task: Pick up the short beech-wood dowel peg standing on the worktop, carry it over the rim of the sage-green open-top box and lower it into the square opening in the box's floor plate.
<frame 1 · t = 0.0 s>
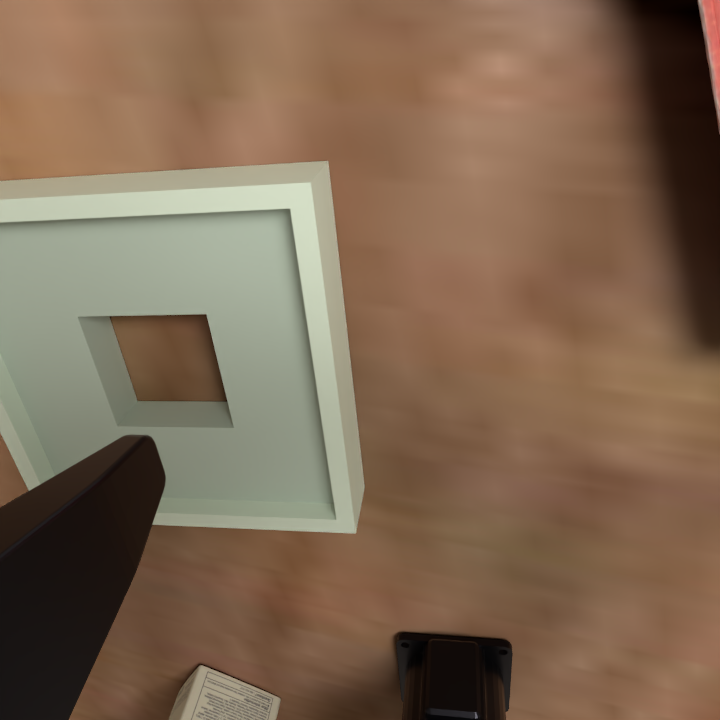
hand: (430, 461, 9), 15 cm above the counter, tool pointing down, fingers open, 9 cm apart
skincare box: (233, 691, 41), on the counter
box: (177, 350, 27), on the counter
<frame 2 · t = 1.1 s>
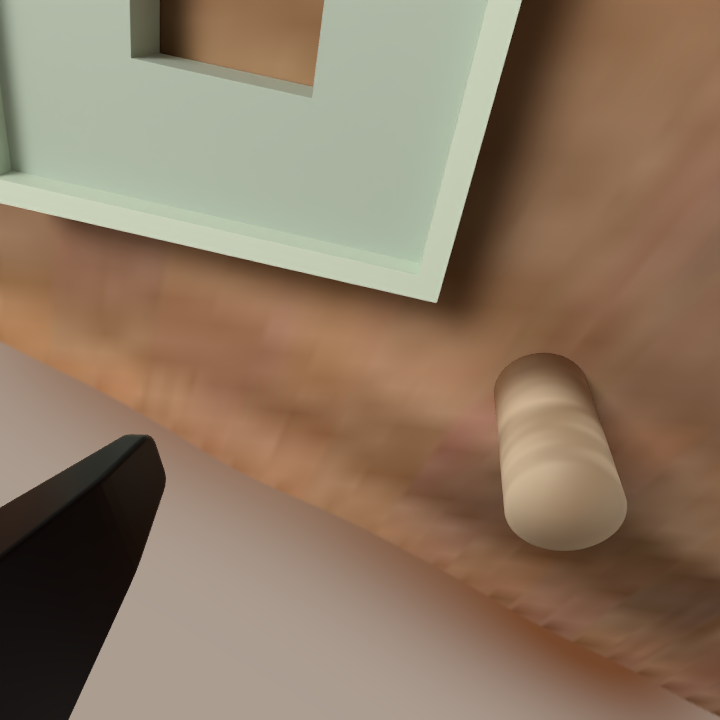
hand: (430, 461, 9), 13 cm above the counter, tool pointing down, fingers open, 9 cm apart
peg: (540, 392, 24), on the counter
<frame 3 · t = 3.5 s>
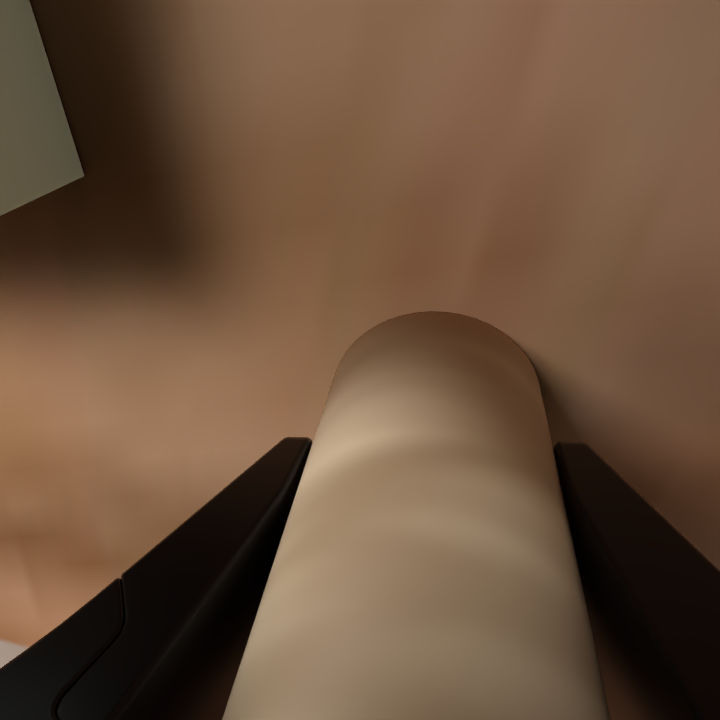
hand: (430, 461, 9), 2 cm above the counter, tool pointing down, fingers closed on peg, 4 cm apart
peg: (433, 404, 10), on the counter, touching gripper
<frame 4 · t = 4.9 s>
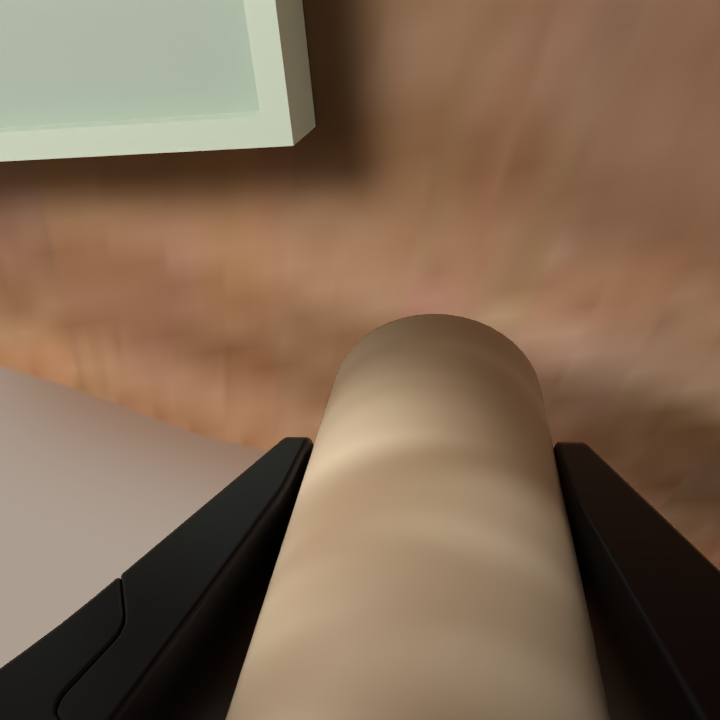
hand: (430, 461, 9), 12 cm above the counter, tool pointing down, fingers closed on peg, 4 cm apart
peg: (434, 406, 10), point 11 cm above the counter, touching gripper
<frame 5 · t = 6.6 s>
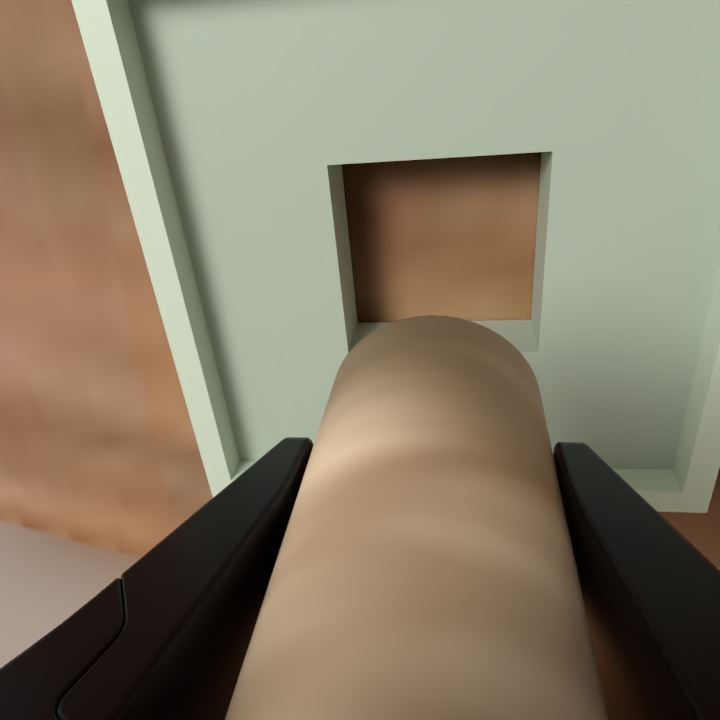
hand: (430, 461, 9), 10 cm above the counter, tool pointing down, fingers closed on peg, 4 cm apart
peg: (433, 407, 10), point 9 cm above the counter, touching gripper
box: (440, 238, 18), on the counter
when the fingers open (3 cm above the counter, at t = 8.4 s): peg drops 1 cm, resting in box.
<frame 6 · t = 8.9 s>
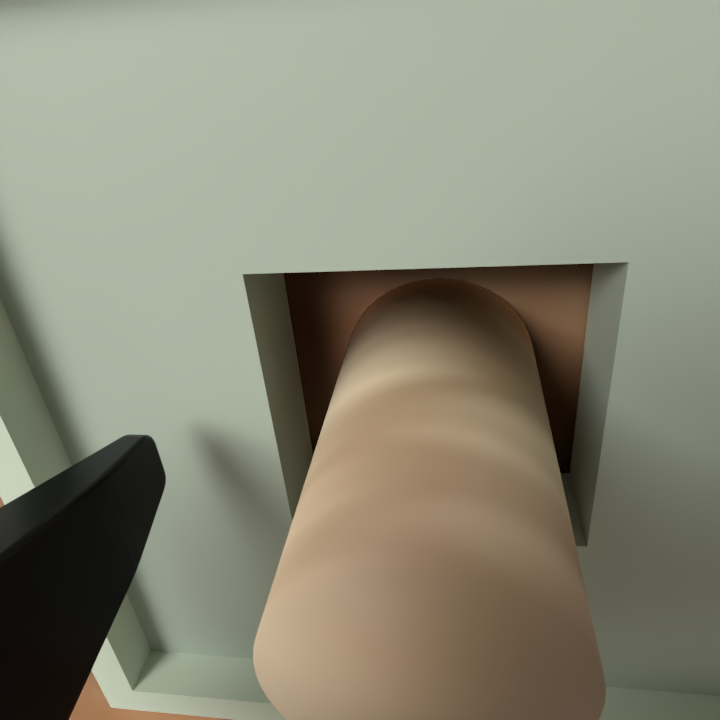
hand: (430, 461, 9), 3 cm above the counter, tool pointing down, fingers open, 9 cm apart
peg: (438, 363, 12), resting in box
box: (434, 361, 12), on the counter
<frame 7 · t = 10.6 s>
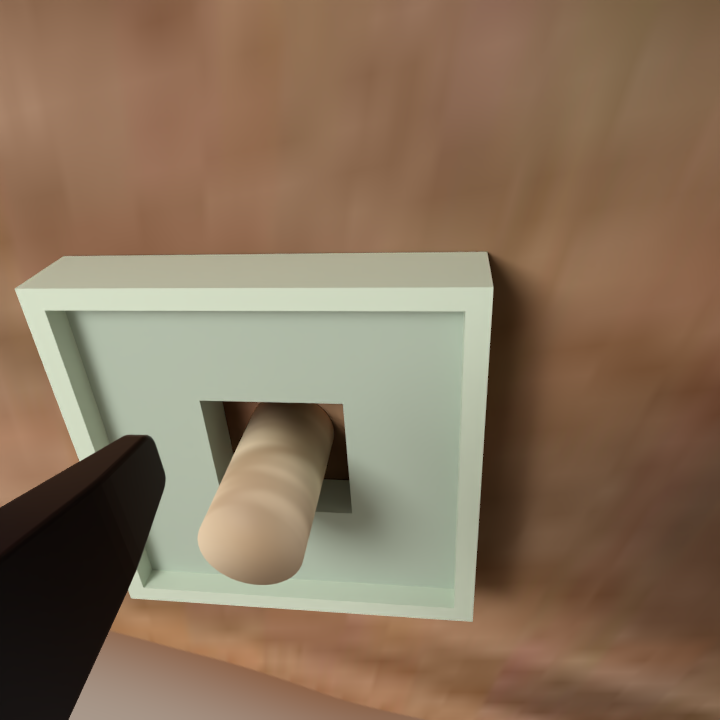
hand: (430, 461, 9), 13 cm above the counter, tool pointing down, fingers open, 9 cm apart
peg: (292, 429, 25), resting in box
box: (290, 428, 25), on the counter
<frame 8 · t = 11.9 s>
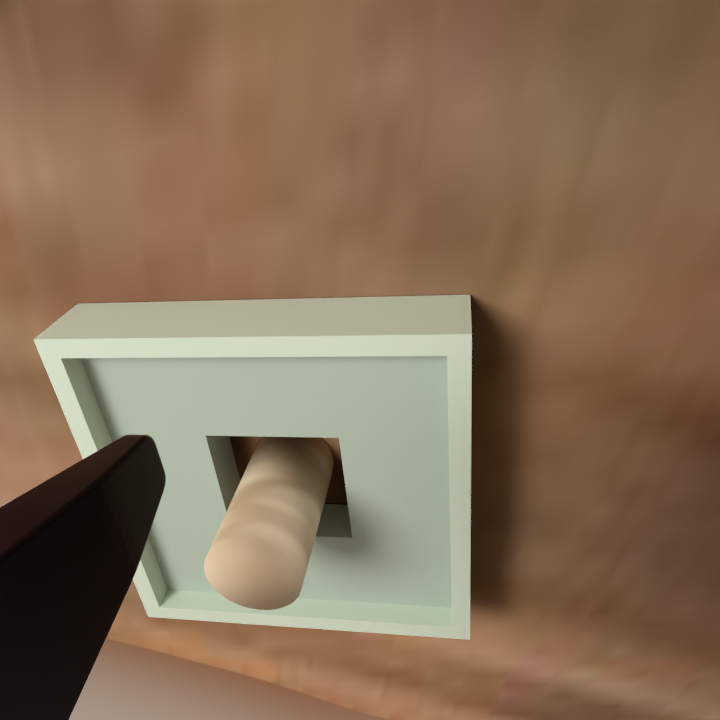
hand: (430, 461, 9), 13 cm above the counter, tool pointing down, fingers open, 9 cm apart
peg: (294, 458, 27), resting in box
box: (292, 457, 27), on the counter
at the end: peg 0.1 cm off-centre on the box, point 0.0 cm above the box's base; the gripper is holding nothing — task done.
